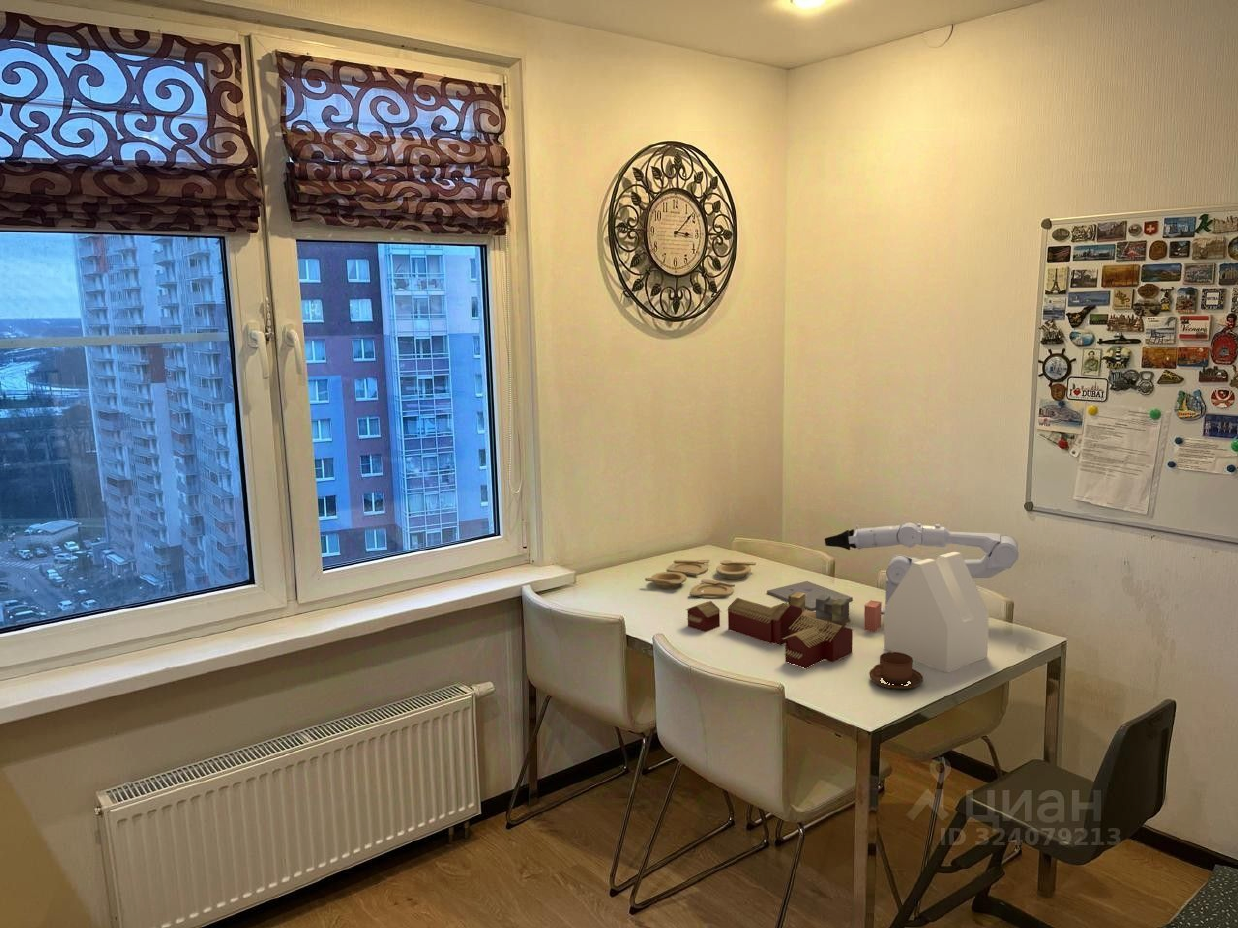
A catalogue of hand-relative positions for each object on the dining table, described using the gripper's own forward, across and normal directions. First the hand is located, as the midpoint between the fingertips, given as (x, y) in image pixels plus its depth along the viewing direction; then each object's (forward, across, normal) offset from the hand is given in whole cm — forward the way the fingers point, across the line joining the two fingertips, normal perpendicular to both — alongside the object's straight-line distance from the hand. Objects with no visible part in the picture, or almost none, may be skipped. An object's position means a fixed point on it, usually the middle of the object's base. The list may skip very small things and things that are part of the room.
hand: (827, 541), depth 263 cm
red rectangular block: (-11, +10, +24) cm, 29 cm away
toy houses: (+15, +26, +24) cm, 39 cm away
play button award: (+10, -10, +17) cm, 22 cm away
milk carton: (-28, +22, +30) cm, 46 cm away
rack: (+4, +7, +21) cm, 23 cm away
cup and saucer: (-20, +42, +34) cm, 58 cm away
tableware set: (+45, -15, +10) cm, 49 cm away
